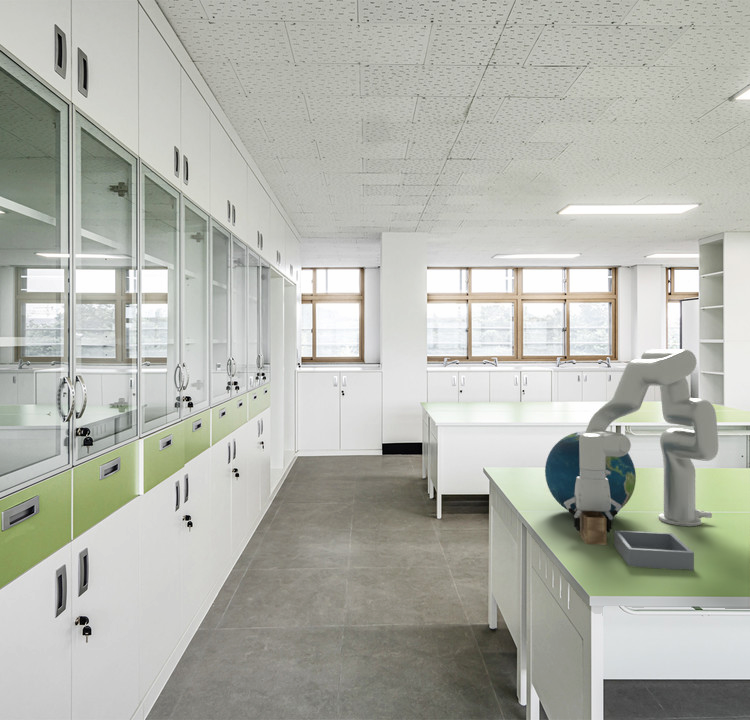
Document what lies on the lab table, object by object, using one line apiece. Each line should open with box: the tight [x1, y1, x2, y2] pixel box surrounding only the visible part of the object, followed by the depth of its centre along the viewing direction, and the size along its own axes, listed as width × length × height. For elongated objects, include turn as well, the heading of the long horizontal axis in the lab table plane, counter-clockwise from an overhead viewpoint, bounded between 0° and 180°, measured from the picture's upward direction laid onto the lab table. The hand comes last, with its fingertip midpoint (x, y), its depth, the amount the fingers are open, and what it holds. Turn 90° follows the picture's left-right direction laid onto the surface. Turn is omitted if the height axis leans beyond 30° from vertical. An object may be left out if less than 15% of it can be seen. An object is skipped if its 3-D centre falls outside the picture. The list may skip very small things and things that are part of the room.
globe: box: [544, 430, 637, 517], centre depth 190 cm, size 30×30×30 cm
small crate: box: [579, 511, 607, 546], centre depth 166 cm, size 6×9×8 cm, turn 170°
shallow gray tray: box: [613, 529, 695, 571], centre depth 151 cm, size 16×16×5 cm
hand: (592, 530), depth 166 cm, fingers open, 8 cm apart
